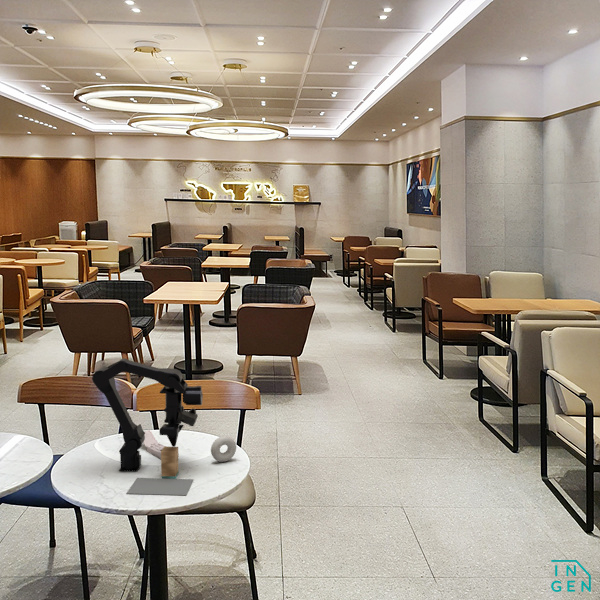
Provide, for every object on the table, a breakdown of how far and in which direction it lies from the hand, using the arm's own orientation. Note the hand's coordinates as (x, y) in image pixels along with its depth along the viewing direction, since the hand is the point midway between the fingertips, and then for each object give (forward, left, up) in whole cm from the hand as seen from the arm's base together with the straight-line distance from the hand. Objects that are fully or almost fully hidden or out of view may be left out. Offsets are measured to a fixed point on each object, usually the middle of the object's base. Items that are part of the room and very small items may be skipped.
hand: (174, 446), depth 243 cm
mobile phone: (-9, +15, -9) cm, 20 cm away
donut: (+17, +8, -9) cm, 21 cm away
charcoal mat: (-1, -16, -8) cm, 19 cm away
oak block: (0, -7, -9) cm, 11 cm away
